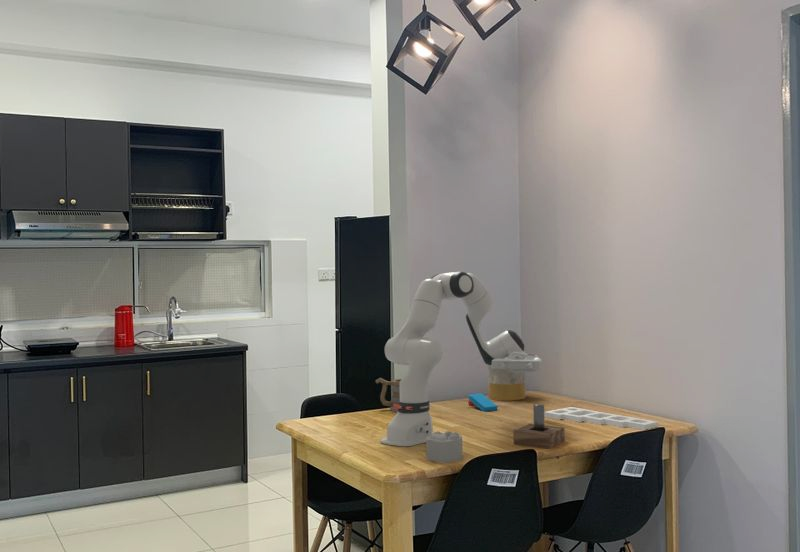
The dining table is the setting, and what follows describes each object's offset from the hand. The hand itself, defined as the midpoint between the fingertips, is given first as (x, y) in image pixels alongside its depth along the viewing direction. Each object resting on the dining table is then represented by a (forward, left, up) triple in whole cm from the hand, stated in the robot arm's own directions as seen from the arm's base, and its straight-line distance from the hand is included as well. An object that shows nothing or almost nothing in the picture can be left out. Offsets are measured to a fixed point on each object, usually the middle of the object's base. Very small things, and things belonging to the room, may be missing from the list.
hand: (515, 366), depth 298 cm
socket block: (-14, -16, -26) cm, 33 cm away
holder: (+33, -22, -27) cm, 48 cm away
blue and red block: (+38, +37, -26) cm, 59 cm away
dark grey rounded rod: (-14, -16, -25) cm, 33 cm away
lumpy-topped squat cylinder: (-51, +2, -26) cm, 57 cm away
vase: (+69, +39, -26) cm, 84 cm away
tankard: (+15, +69, -26) cm, 75 cm away
